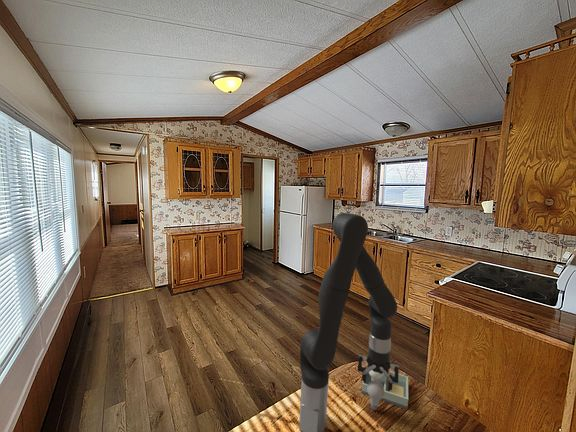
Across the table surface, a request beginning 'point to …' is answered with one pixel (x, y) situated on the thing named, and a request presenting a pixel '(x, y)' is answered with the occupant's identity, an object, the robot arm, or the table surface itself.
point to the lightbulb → (375, 393)
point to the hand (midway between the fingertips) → (376, 385)
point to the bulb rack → (393, 396)
